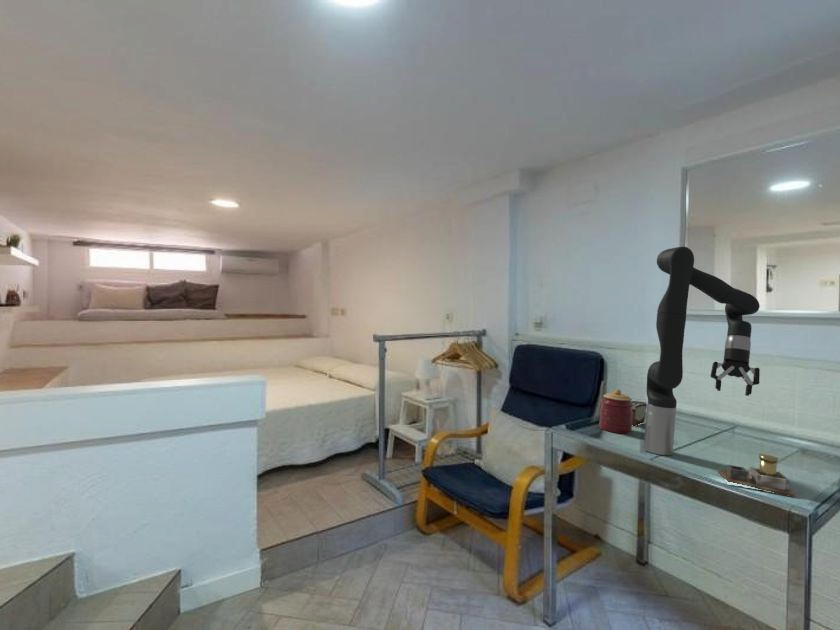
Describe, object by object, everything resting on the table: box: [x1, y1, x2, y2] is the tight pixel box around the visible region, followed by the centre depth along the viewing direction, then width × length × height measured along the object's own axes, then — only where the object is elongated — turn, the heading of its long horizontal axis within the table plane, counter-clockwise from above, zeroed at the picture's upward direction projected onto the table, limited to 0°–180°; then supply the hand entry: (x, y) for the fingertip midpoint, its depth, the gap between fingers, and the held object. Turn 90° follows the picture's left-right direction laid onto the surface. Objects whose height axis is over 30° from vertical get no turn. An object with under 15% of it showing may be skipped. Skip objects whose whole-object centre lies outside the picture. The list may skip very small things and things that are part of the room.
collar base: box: [717, 464, 795, 497], centre depth 133 cm, size 16×12×4 cm
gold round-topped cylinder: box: [758, 453, 779, 477], centre depth 132 cm, size 5×5×8 cm
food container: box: [631, 400, 648, 427], centre depth 200 cm, size 12×6×10 cm, turn 130°
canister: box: [598, 388, 634, 435], centre depth 188 cm, size 13×13×18 cm
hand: (732, 393), depth 157 cm, fingers open, 8 cm apart
